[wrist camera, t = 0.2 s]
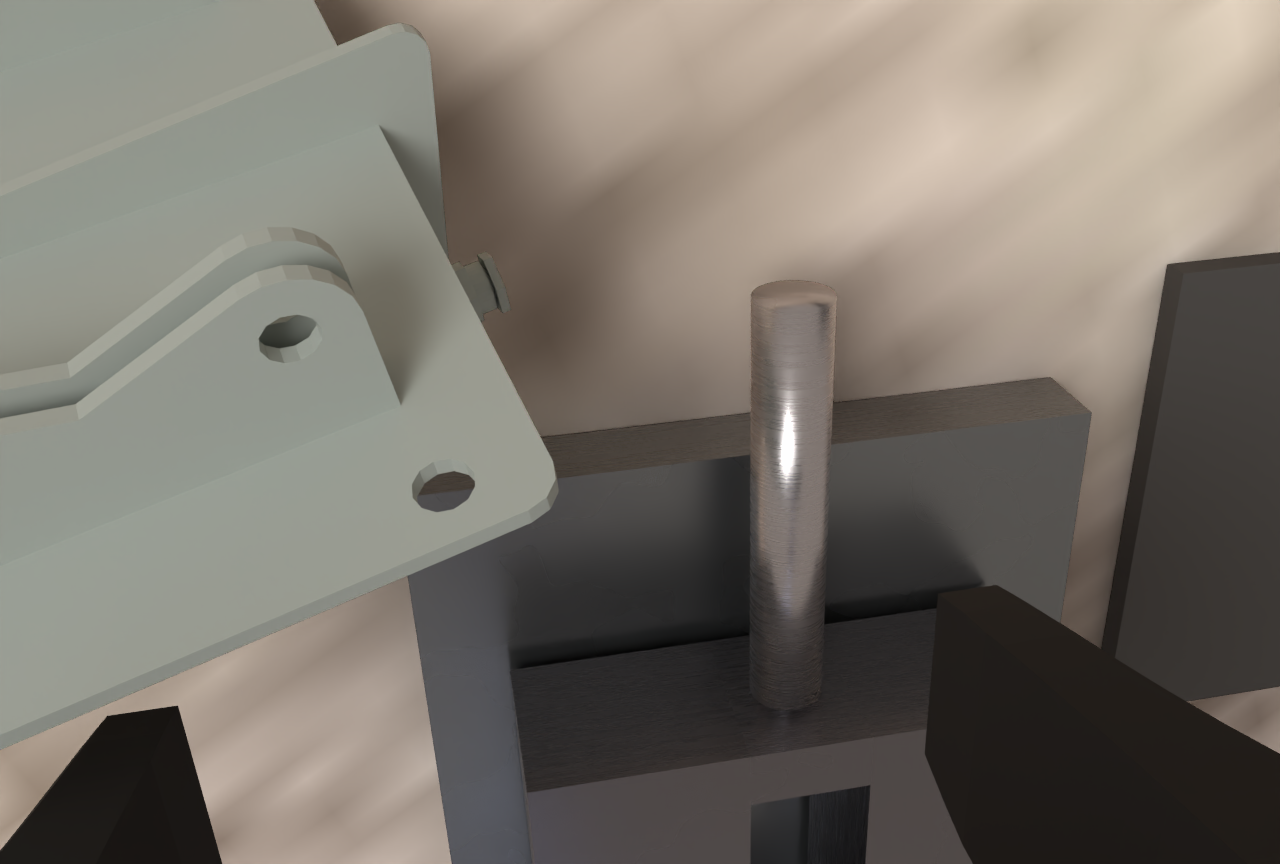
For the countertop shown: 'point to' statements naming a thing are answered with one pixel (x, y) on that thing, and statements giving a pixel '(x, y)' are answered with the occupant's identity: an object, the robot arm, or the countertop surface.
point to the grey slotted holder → (749, 678)
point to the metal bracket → (226, 340)
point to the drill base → (729, 564)
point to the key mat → (1206, 489)
